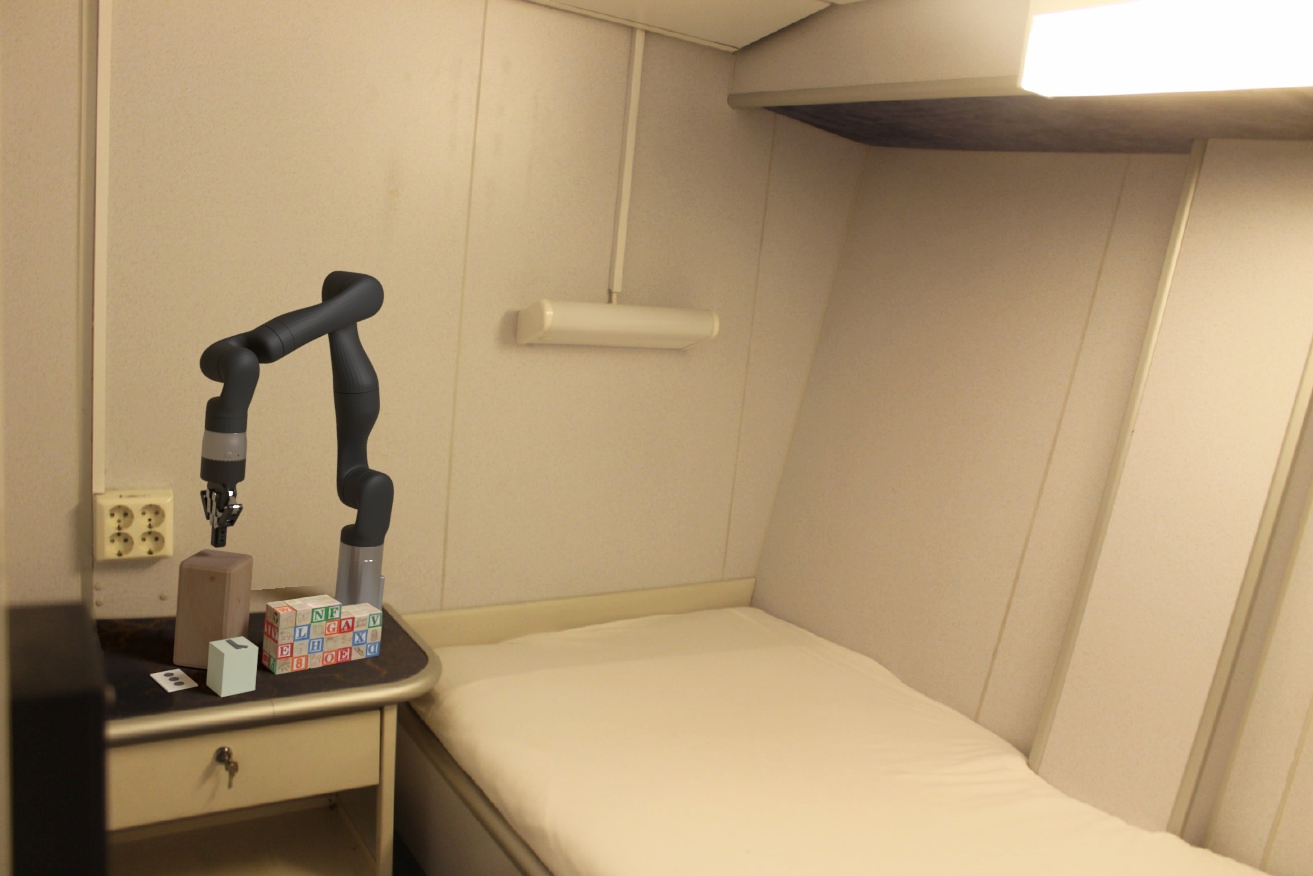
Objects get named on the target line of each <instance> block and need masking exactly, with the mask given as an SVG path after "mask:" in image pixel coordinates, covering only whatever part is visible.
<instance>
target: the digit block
mask: <svg viewBox="0 0 1313 876" xmlns="http://www.w3.org/2000/svg"><path fill="white" fill-rule="evenodd" d="M258 655H259V646H257V645H255V643H253V642H251V641H250V640H249V639H248V638H247V639H246V638H245V637H243V636H242V637H236V638H230V639H224V640H219V641H213V642H209V655H208V669H206V670H207V671H206V686H207V687H208V688H210V689H211V690H212V691H213V692H215V694H217V695H218V696H219V697H220V698H223V697H224V698H225V697H228V696H234V695H238V694H243V693H248V692H252V691H256V681H257V668H258V667H257V666H258V657H259V656H258Z"/></svg>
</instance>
